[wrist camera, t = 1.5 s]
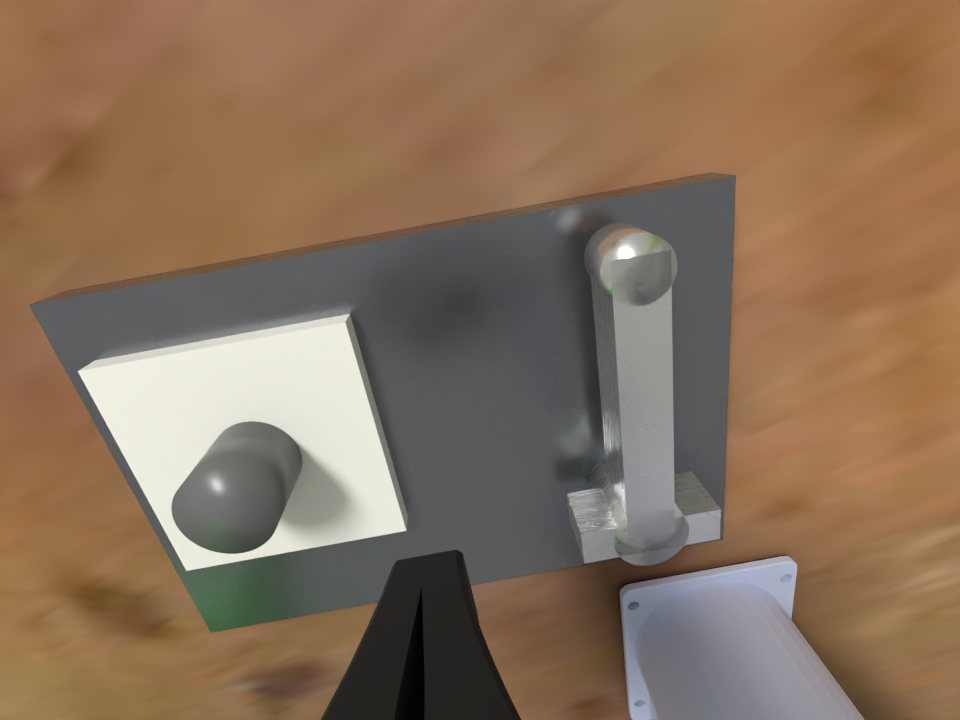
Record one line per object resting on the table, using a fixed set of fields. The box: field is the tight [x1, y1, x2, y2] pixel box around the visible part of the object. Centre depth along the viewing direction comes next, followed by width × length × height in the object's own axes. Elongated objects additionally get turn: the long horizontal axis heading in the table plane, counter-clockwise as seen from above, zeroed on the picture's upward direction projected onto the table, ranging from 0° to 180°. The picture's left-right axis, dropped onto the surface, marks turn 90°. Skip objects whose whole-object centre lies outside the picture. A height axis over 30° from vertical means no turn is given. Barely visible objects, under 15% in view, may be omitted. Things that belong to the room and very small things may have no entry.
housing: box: [29, 173, 736, 632], centre depth 18 cm, size 14×21×2 cm, turn 99°
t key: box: [567, 222, 721, 566], centre depth 16 cm, size 11×4×3 cm, turn 10°
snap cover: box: [78, 314, 408, 571], centre depth 15 cm, size 8×8×4 cm
